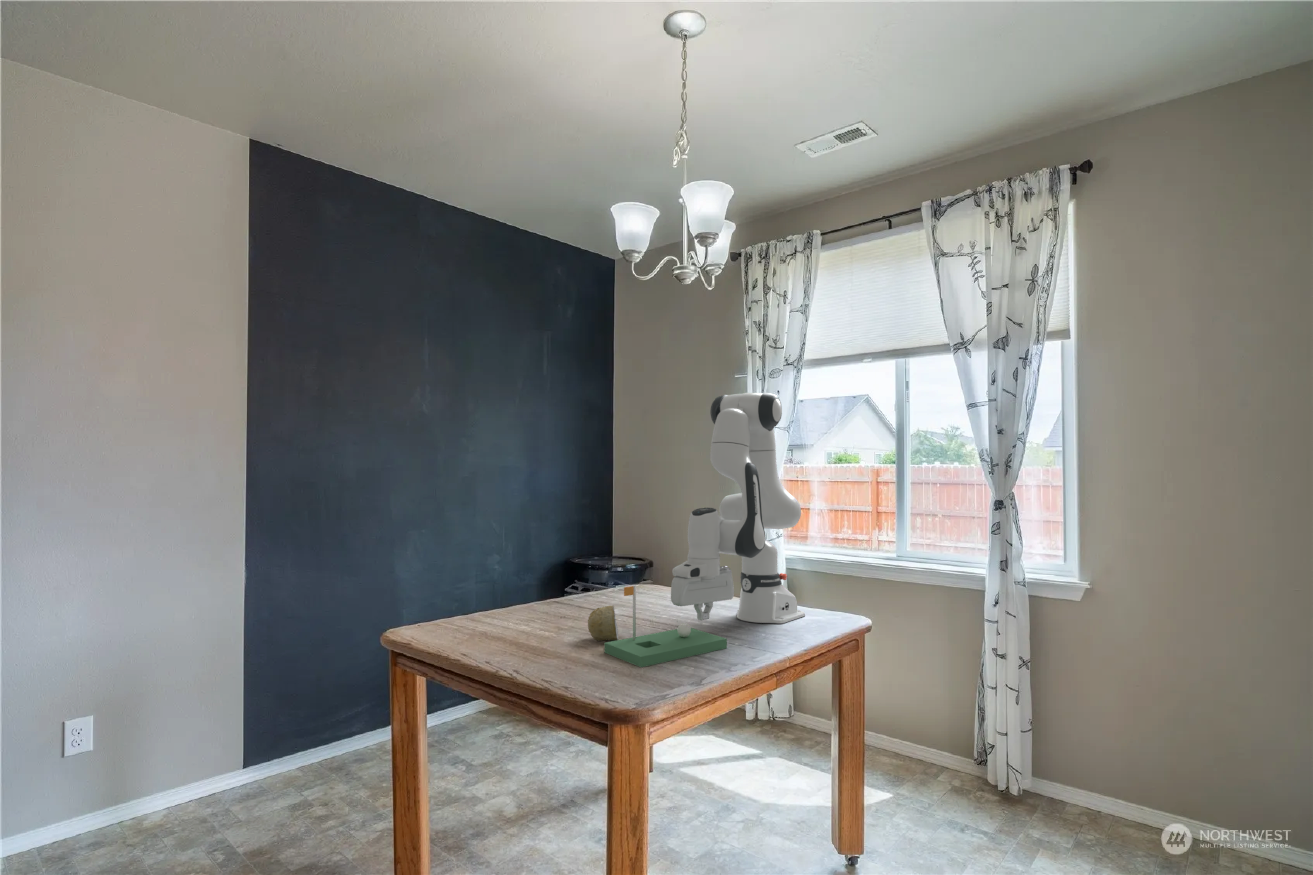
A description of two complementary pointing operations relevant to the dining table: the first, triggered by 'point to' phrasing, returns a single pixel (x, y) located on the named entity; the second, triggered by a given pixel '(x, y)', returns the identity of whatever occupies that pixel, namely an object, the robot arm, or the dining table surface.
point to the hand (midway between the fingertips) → (703, 619)
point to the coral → (603, 624)
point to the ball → (684, 630)
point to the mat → (661, 643)
